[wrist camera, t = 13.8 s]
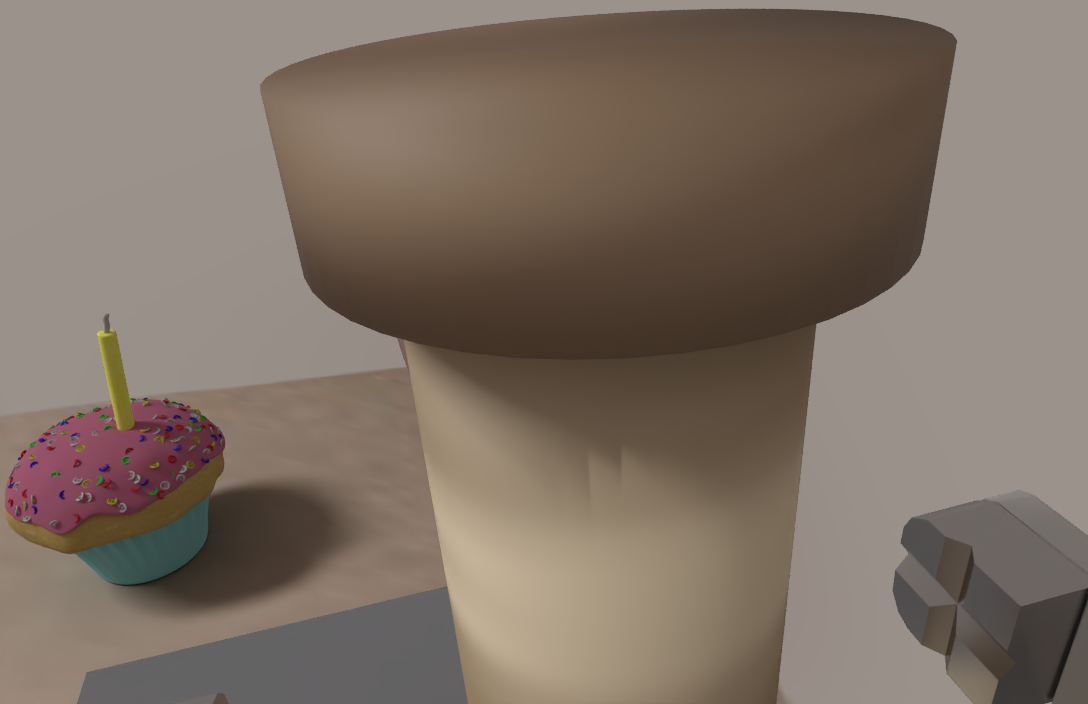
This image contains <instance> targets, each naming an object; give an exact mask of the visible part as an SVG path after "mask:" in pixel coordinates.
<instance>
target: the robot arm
mask: <svg viewBox="0 0 1088 704" xmlns="http://www.w3.org/2000/svg"><path fill="white" fill-rule="evenodd" d="M901 544H902V545H903V547H904V548H905V549H906V550H907V552H908V553H909V554H908V555H907V556H906V557H905V559H904V560H903V561H902V563H901V564H900V565H899V566H898V567H897V569H896V570H895V577H894V585H893V593H894V597H895V600H896V605H897V608H898V612H899V614H900V615H901V617H902V619H903V621H904V623H905V624H906V626H907V628H908V629H909V630H910V632H911V633H912V634H913V635H914V636H915V637H916V639H917V640H918V641H919V642H920V643H921V645H924V646H926V647H928V648H930V649H932V650H934V651H936V652H938V653H940V654H943V655H945V661H946V671H947V674H948V676H949V677H950V678H951V679H952V680H953V681H954V683H955V684H956V685H957V686H958V687H959V688H960V689H961V690H962V692H963V693H964V694H965V695H966V696H967V697H968V698H969V700H970V701H971V702H972V703H973V704H1045V703H1049V702H1052V704H1088V535H1086V534H1085V533H1084V532H1082V531H1081V530H1080V529H1078V528H1077V527H1076V526H1074V525H1073V524H1072V523H1071V522H1069V521H1068V520H1067V519H1065V518H1064V517H1063V516H1061V515H1060V514H1059V513H1057V512H1056V511H1054V510H1053V509H1052V508H1051V507H1049V506H1048V505H1047V504H1045V503H1044V502H1043V501H1041V500H1040V499H1039V498H1037V497H1036V496H1034V495H1032V494H1030V493H1027V492H1024V491H1021V490H1017V491H1013V492H1009V493H1005V494H1001V495H997V496H993V497H990V498H986V499H983V500H981V501H973V502H969V503H965V504H962V505H958V506H954V507H950V508H947V509H943V510H939V511H935V512H931V513H927V514H924V515H920V516H916V517H913V518H911V519H910V520H909V521H908V523H907V524H906V525H905V526H904V529H903V534H902V538H901ZM171 704H229V703H228V700H227V698H226V696H225V694H223V693H216V694H211V695H207V696H202V697H198V698H193V699H189V700H185V701H180V702H176V703H171Z"/></svg>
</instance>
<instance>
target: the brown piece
mask: <svg viewBox="0 0 1088 704" xmlns="http://www.w3.org/2000/svg"><path fill="white" fill-rule="evenodd" d="M956 44H957V40H956V38H955V37H954V36H953V34H952V33H950V32H948V31H946V30H944V29H942V28H940V27H937V26H934V25H931V24H928V23H924V22H919V21H914V20H910V19H904V18H898V17H891V16H884V15H875V14H865V13H852V12H839V11H821V10H797V9H796V10H795V9H794V10H793V9H701V10H671V11H647V12H629V13H612V14H598V15H584V16H571V17H559V18H548V19H538V20H527V21H517V22H509V23H499V24H491V25H482V26H474V27H467V28H459V29H452V30H445V31H438V32H431V33H425V34H419V35H413V36H406V37H401V38H396V39H390V40H384V41H379V42H374V43H369V44H364V45H359V46H355V47H351V48H347V49H343V50H338V51H334V52H330V53H326V54H323V55H319V56H316V57H312V58H309V59H306V60H303V61H300V62H297V63H294V64H291V65H289V66H287V67H285V68H282V69H280V70H278V71H276V72H274V73H273V74H271V75H270V76H268V77H267V78H266V79H265V80H264V81H263V82H262V83H261V84H260V87H261V96H262V100H263V104H264V108H265V113H266V117H267V121H268V125H269V130H270V134H271V138H272V142H273V146H274V151H275V155H276V159H277V163H278V168H279V172H280V177H281V181H282V185H283V189H284V193H285V197H286V202H287V206H288V211H289V215H290V219H291V223H292V227H293V232H294V236H295V240H296V245H297V249H298V253H299V257H300V261H301V266H302V270H303V275H304V278H305V280H306V282H307V283H308V285H309V287H310V288H311V290H312V292H313V293H314V294H315V295H316V296H317V297H318V298H319V299H320V300H321V301H322V302H323V303H324V304H325V305H327V306H328V307H329V308H331V309H332V310H334V311H336V312H337V313H339V314H341V315H342V316H344V317H346V318H347V319H349V320H350V321H353V322H355V323H358V324H360V325H363V326H365V327H367V328H370V329H372V330H375V331H377V332H379V333H382V334H386V335H390V336H393V337H396V338H400V339H403V340H404V343H405V348H406V354H407V360H408V365H409V371H410V377H411V382H412V388H413V394H414V399H415V405H416V411H417V416H418V422H419V428H420V433H421V439H422V445H423V450H424V456H425V462H426V467H427V473H428V479H429V484H430V490H431V496H432V501H433V507H434V513H435V518H436V524H437V530H438V536H439V541H440V547H441V553H442V558H443V564H444V570H445V575H446V581H447V587H448V592H449V598H450V604H451V609H452V615H453V621H454V626H455V632H456V638H457V643H458V649H459V655H460V660H461V666H462V672H463V677H464V683H465V689H466V694H467V700H468V704H776V701H777V691H778V682H779V672H780V663H781V653H782V643H783V634H784V625H785V615H786V606H787V596H788V586H789V578H790V568H791V557H792V549H793V539H794V530H795V521H796V511H797V501H798V492H799V482H800V473H801V463H802V454H803V443H804V435H805V425H806V416H807V406H808V397H809V388H810V377H811V369H812V359H813V350H814V340H815V330H816V324H817V323H820V322H823V321H826V320H829V319H831V318H833V317H836V316H838V315H840V314H843V313H845V312H847V311H850V310H852V309H854V308H856V307H859V306H861V305H863V304H865V303H867V302H868V301H870V300H872V299H873V298H875V297H877V296H878V295H880V294H881V293H883V292H885V291H886V290H888V289H890V288H891V287H892V286H893V285H894V284H896V283H897V282H898V281H899V280H900V279H901V278H902V277H903V276H904V275H906V274H907V273H908V272H909V271H910V269H911V268H912V266H913V265H914V263H915V262H916V260H917V259H918V257H919V255H920V253H921V248H922V244H923V240H924V234H925V228H926V221H927V216H928V210H929V203H930V198H931V192H932V186H933V180H934V175H935V168H936V163H937V156H938V151H939V144H940V139H941V132H942V127H943V120H944V115H945V109H946V103H947V97H948V91H949V85H950V80H951V74H952V68H953V62H954V55H955V50H956Z"/></svg>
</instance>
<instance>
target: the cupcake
mask: <svg viewBox="0 0 1088 704" xmlns="http://www.w3.org/2000/svg"><path fill="white" fill-rule="evenodd" d="M103 323H104V330H101V331H99V332H98V334H97V335H98V341H99V345H100V350H101V355H102V359H103V364H104V369H105V373H106V378H107V383H108V387H109V392H110V396H111V401H112V405H110V406H109V407H108V406H106V407H103V408H98V407H97V408H94V409H92V410H91V411H90V412H89V413H87V414H82V413H77V416H76V417H74V416H71V417H69V418H67V419H64V420H63V422H62V423H61V422H59V423H58V424H57V425H56V426H54V425H53V426H51V427H50V428H49V429H48V430H47V432H45V433H43V435H41V436H40V437H39V438H38V439H37V440H36V441H35V442H33V443H32V444H31V445H30V448H29V449H28V450H27V451H26V450H24V451H23V452H22V453H21V457H19V458H18V460H20V461H19V463H18V464H17V465H15V466H13V467H14V469H13V470H12V471H11V472H10V473H9V476H8V479H9V480H8V483H7V486H6V491H5V516H6V519H7V522H8V524H9V525H10V526H11V528H12V529H13V530H14V531H15V532H16V533H18V534H19V535H20V536H22V537H23V538H25V539H26V540H28V541H30V542H32V543H35V544H38V545H41V546H43V547H47V548H50V549H53V550H56V551H59V552H62V553H66V554H76V555H77V556H79V557H80V558H81V559H82V560H83V561H85V562H86V563H87V564H88V565H89V566H90V567H91V568H92V569H93V570H94V571H95V572H96V573H97V574H98V575H99V576H101V577H102V578H103V579H105V580H106V581H109V582H111V583H115V584H123V585H131V584H139V583H145V582H149V581H152V580H155V579H158V578H161V577H163V576H165V575H168V574H170V573H172V572H173V571H175V570H177V569H179V568H180V567H182V566H183V565H185V564H186V563H187V562H188V561H190V560H191V559H192V558H193V557H194V556H195V555H196V554H197V553H198V552H199V550H200V549H201V548H202V546H203V545H204V543H205V541H206V538H207V535H208V506H209V497H210V494H211V492H212V490H213V488H214V485H215V482H216V480H217V478H218V477H219V476H220V475H221V473H222V472H223V469H224V458H223V452H222V451H223V450H224V448H225V439H224V436H223V434H222V432H221V431H220V430H219V427H216V426H215V425H214V424H213V423H212V422H210V421H209V420H208V419H207V418H206V417H205V416H202V415H201V413H200V411H199V410H198V409H195V410H193V409H191V408H190V406H187V407H185V406H184V405H183V404H181V403H180V404H178V403H176V402H171V401H169V400H168V399H166V398H164V400H146V399H147V398H144V399H137V400H136V399H133V398H131V399H129V394H128V389H127V384H126V379H125V374H124V369H123V364H122V359H121V354H120V349H119V344H118V340H117V334H116V331H115V330H112V329H110V324H109V314H108V313H105V314H104V315H103ZM111 406H112V407H111ZM188 407H189V408H188ZM95 409H97V410H96V411H94V410H95ZM197 411H198V412H199V413H198V412H197ZM60 423H61V424H60ZM23 453H24V455H23Z"/></svg>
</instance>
